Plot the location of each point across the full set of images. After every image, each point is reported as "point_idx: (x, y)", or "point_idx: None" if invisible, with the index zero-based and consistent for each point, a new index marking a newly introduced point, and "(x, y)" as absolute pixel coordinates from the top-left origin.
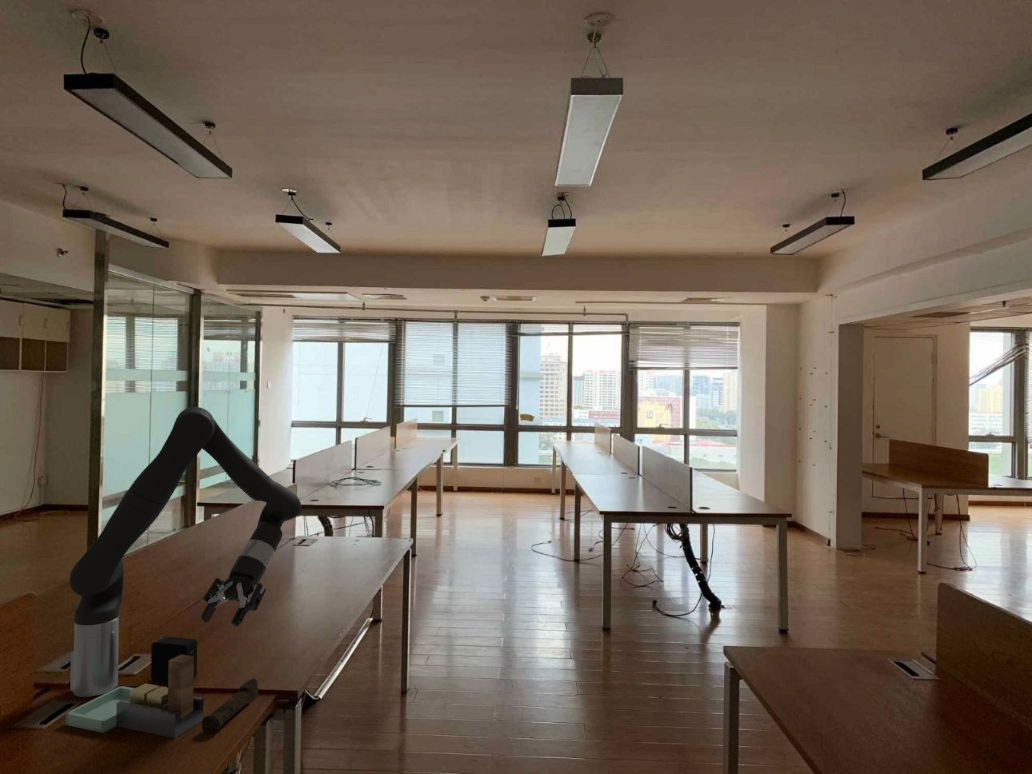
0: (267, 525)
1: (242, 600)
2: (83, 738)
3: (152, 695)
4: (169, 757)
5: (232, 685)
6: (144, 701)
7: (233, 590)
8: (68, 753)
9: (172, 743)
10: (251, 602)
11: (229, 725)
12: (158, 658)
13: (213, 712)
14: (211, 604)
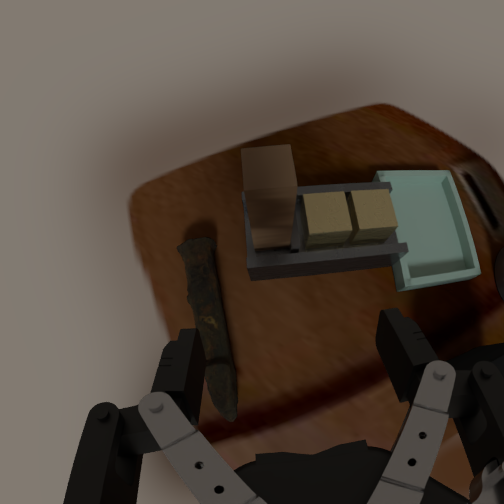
0: None
1: (171, 433)
2: (381, 162)
3: (328, 192)
4: (206, 174)
5: (319, 425)
6: (347, 199)
7: (322, 498)
8: (355, 132)
9: (236, 201)
10: (97, 421)
11: (186, 286)
12: (496, 348)
13: (204, 259)
14: (412, 364)
